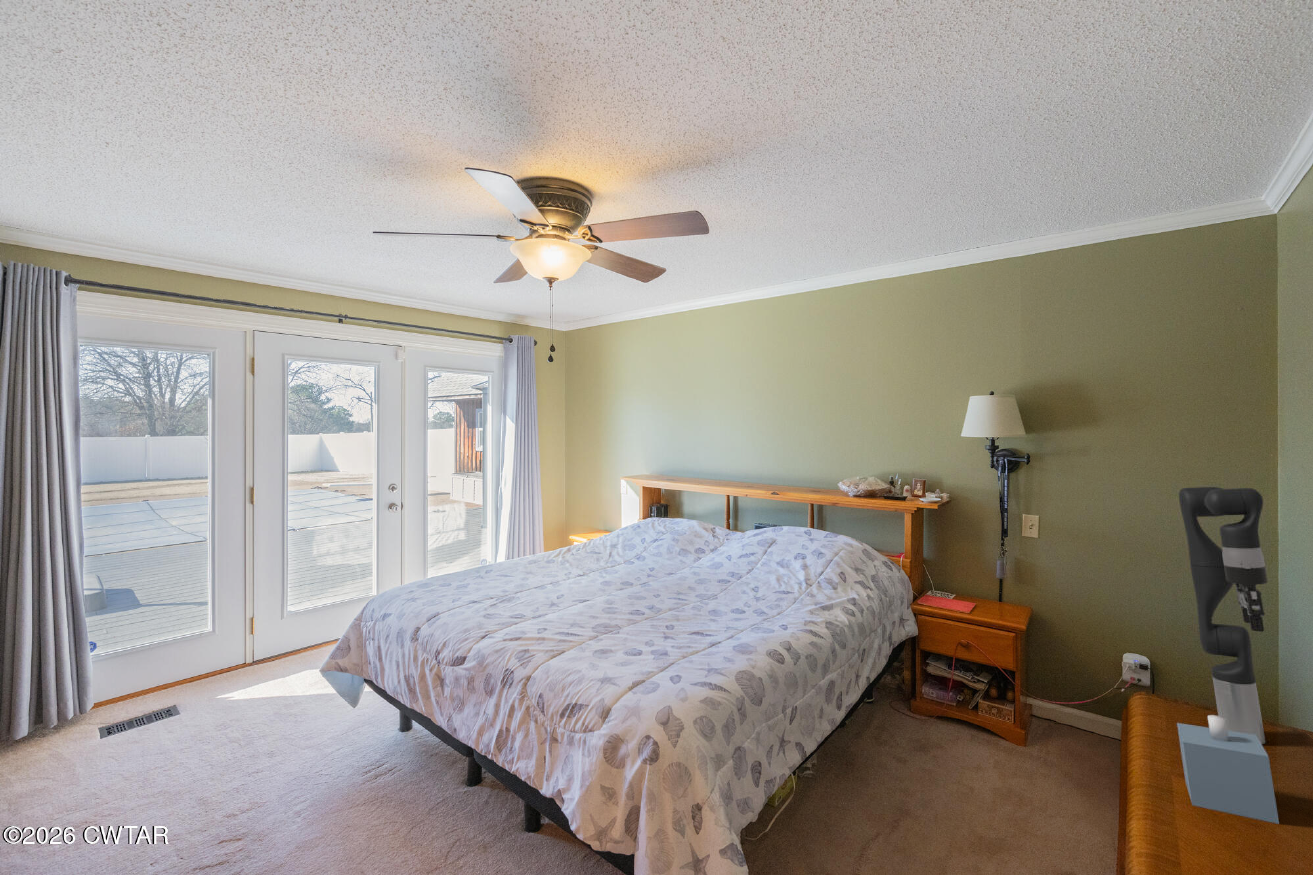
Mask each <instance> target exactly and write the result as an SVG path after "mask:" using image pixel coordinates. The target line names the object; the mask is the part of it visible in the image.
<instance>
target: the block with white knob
mask: <svg viewBox="0 0 1313 875" xmlns="http://www.w3.org/2000/svg"><path fill="white" fill-rule="evenodd" d="M1207 722H1208V727H1206V726H1200V725H1194V724H1186V723H1182V722H1181V723H1180V722H1176V727H1177V733H1178V739H1179V748H1180V755H1181V761H1182V768H1183V773H1184V780H1185V785H1186V788H1187V792H1188V794H1189V798H1190V801H1191V805H1192V806H1193V807H1194V806H1195V807H1198V808H1203V809H1208V810H1213V811H1217V812H1220V813H1221V812H1222V813H1226V814H1227V813H1228V814H1231V815H1236V816H1239V817H1240V816H1241V817H1246V818H1248V819H1255V820H1259V821H1264V822H1268V823H1273V824H1278V825H1279V824H1280V822H1279V820H1280V819H1279V814H1278V808H1277V801H1276V796H1275V789H1274V783H1273V777H1272V771H1271V764H1270V757H1269V754H1268V753H1267V751H1266V749H1265V748H1264V746H1263V744H1261V743H1260V741H1259V739H1258V738H1257V736H1256V735H1253V734H1247V733H1240V732H1234V731H1227V726H1226V719H1225V718H1223V717H1220V716H1218V715H1215V714H1209V715H1207Z"/></svg>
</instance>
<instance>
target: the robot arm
mask: <svg viewBox="0 0 1313 875" xmlns="http://www.w3.org/2000/svg"><path fill="white" fill-rule="evenodd" d="M1178 500H1179V501H1178V502H1179V506H1180V511H1181V516H1182V519H1183V520H1182V521H1183V525H1184V529H1185V534H1186V538H1187V547H1188V554H1189V555H1188V556H1189V564H1190V572H1191V577H1192V583H1193V587H1194V592H1195V598H1196V605H1197V606H1196V607H1197V620H1198V631H1199V632H1198V633H1199V638H1200V639H1199V641H1200V646H1201V647H1202V649H1203V651H1204V652H1205V653H1206V654H1208V655H1209V654H1210V655H1215V656H1222V657H1223V656H1224V657H1230V658H1231V657H1232V658H1236V659H1235V660H1234V661H1230V662H1227V663H1222V664H1216V665H1213V666H1212V667H1211V671H1210V672H1211V676H1212V682H1213V689H1214V690H1213V691H1214V697H1215V702H1216V709H1217V714H1218V715H1217V716H1220V717H1223V718H1225V719H1226V726H1227V731H1234V732H1240V733H1247V734H1253V735H1256V736H1257V738H1258V739H1259V741H1260V743H1261V744H1262V745H1264V744H1266V739H1265V738H1266V737H1265V733H1264V726H1263V725H1264V724H1263V718H1262V713H1261V707H1260V700H1259V693H1258V688H1257V682H1256V675H1255V671H1254V664H1253V652H1252V643H1251V641H1252V640H1251V636H1250V633H1249V631H1248V630H1247V628H1246V627H1244V626H1240V625H1233V624H1231V625H1230V624H1220V623H1214V622H1212V621H1213V616H1214V613H1215V611H1216V610H1217V608H1218V606H1219V605H1220V603H1221V602H1222V600H1223V599H1224V598H1225V597H1226V595H1227V594H1228V593H1229V592H1230V590H1231V589H1232V587H1233V585H1234V584H1235V587H1236V588H1235V592H1236V594H1237V600H1238V601H1237V603H1238V604H1239V607H1240V608H1241V611H1242V619H1243V622H1244V623H1245V624H1249V626H1250V629H1251V631H1253V632H1264V630H1265V628H1264V622H1263V616H1264V617H1265V612H1264V611H1265V610H1264V607H1263V606H1264V605H1263V601H1262V600H1263V599H1262V592H1261V590H1259V589H1257V587H1256V586H1257V585H1266V584H1267V583H1268V577H1267V571H1266V566H1265V565H1266V564H1265V559H1264V554H1263V551H1262V548H1261V542H1260V536H1259V526H1260V519H1261V514H1262V511H1263V507H1264V498H1263V496H1262V494H1261V493H1260V492H1259V491H1258V490H1257V489H1255V488H1251V487H1243V488H1242V487H1240V488H1222V487H1217V486H1201V487H1199V486H1198V487H1197V486H1196V487H1184V488H1181V489H1180V490H1179V494H1178ZM1224 516H1243V517H1242V519H1241V520H1240V521H1237V522H1233V523H1228V524H1223V525H1221V526H1220V528H1219V534H1220V539H1221V546H1222V547H1220V546H1219V545H1218V544H1217V543H1215V542H1214V541H1213V540H1212V539H1211V538H1210V536H1209V535H1208V534H1207V533H1206V532H1205V531H1204V530H1203V527H1202V526H1201V525H1200V523H1199V520H1198V518H1201V517H1202V518H1205V517H1207V518H1209V517H1212V518H1213V517H1224ZM1255 609H1256V610H1255Z"/></svg>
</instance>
